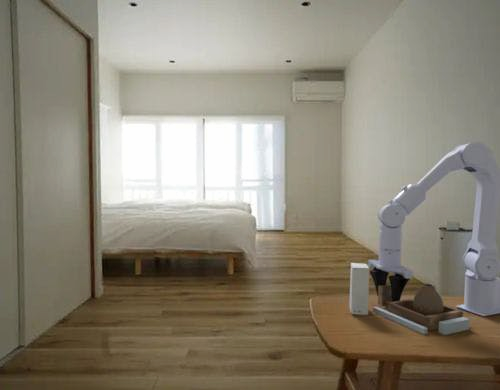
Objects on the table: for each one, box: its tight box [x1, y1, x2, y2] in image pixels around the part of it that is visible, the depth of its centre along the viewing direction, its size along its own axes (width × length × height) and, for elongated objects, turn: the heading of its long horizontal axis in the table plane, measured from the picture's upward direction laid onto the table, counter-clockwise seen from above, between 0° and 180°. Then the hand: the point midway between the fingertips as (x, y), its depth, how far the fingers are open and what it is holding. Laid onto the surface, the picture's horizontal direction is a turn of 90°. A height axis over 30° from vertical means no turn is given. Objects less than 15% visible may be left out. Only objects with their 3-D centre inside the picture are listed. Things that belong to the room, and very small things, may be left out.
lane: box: [372, 306, 470, 336], centre depth 98 cm, size 12×18×2 cm
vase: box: [412, 283, 445, 316], centre depth 98 cm, size 7×7×9 cm
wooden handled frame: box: [377, 283, 464, 332], centre depth 102 cm, size 12×20×5 cm, turn 25°
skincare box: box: [348, 262, 370, 316], centre depth 104 cm, size 6×4×12 cm
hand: (388, 298), depth 110 cm, fingers open, 5 cm apart
